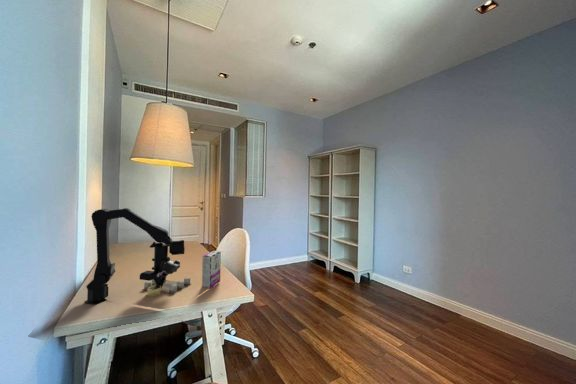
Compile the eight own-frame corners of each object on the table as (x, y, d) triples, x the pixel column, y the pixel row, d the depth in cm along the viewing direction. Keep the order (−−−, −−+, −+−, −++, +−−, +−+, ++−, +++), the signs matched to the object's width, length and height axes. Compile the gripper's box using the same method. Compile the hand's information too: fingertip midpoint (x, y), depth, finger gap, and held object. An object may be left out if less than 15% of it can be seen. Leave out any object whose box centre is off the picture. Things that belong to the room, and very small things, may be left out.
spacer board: (162, 302, 102) (162, 293, 102) (129, 296, 106) (129, 288, 106) (192, 285, 121) (192, 277, 121) (163, 281, 125) (163, 274, 125)
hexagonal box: (155, 297, 105) (155, 290, 105) (144, 295, 106) (144, 288, 106) (163, 292, 110) (163, 286, 110) (153, 290, 111) (153, 284, 111)
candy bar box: (212, 280, 129) (212, 250, 129) (220, 281, 128) (221, 251, 128) (201, 288, 118) (202, 255, 118) (210, 289, 117) (211, 256, 117)
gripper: (160, 262, 101) (159, 299, 101) (188, 252, 119) (187, 283, 119) (139, 260, 104) (138, 295, 103) (169, 250, 122) (169, 280, 121)
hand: (160, 288), depth 112 cm, fingers closed
